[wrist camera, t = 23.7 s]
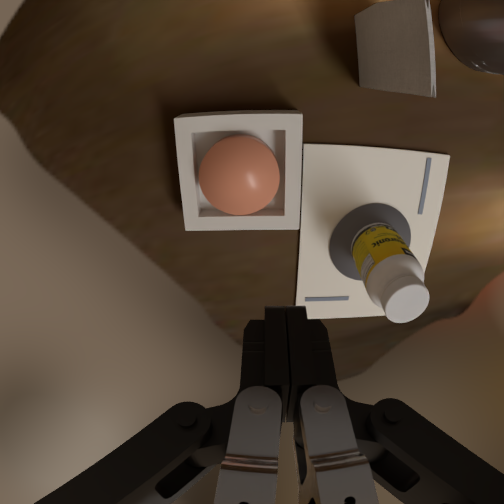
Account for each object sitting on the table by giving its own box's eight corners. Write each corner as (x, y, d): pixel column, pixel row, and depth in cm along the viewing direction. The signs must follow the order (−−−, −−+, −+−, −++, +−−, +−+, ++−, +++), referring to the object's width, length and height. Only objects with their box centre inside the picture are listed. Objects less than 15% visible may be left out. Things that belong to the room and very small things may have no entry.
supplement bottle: (405, 225, 30) (448, 281, 22) (387, 269, 33) (419, 332, 25) (358, 215, 30) (392, 273, 22) (342, 262, 33) (366, 328, 24)
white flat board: (303, 143, 27) (304, 144, 27) (448, 154, 27) (450, 156, 26) (294, 317, 37) (294, 320, 37) (410, 311, 37) (411, 314, 37)
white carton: (359, 86, 24) (406, 94, 16) (354, 15, 21) (398, -9, 12) (397, 88, 24) (456, 100, 15) (393, 19, 21) (450, 2, 12)
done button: (200, 135, 25) (195, 140, 24) (278, 133, 25) (279, 138, 23) (205, 206, 29) (202, 215, 27) (278, 205, 28) (279, 214, 27)
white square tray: (182, 113, 26) (173, 118, 23) (298, 110, 26) (302, 114, 23) (191, 216, 31) (185, 230, 29) (295, 215, 31) (299, 229, 28)
